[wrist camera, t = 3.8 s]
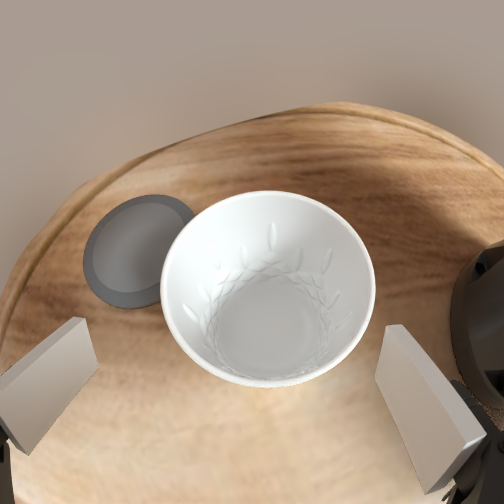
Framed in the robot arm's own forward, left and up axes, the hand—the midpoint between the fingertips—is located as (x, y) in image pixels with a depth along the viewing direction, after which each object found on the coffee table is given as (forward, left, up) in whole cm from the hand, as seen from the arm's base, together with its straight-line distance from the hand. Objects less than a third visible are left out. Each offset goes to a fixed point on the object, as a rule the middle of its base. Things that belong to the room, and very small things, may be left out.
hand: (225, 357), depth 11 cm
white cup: (-2, -3, -8) cm, 8 cm away
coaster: (+9, -10, -8) cm, 15 cm away
